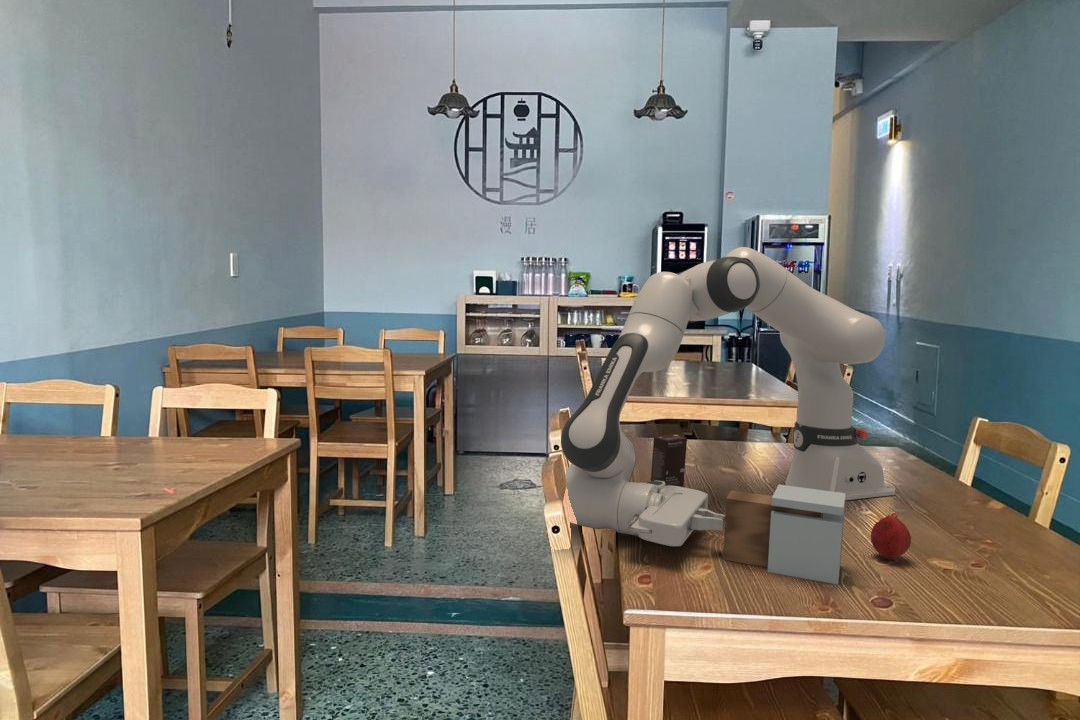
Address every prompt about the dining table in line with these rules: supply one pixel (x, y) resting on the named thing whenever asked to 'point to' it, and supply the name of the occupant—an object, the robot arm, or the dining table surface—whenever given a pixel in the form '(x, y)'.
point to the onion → (890, 537)
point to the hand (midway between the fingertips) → (724, 522)
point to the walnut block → (751, 527)
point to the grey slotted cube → (807, 534)
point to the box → (669, 459)
